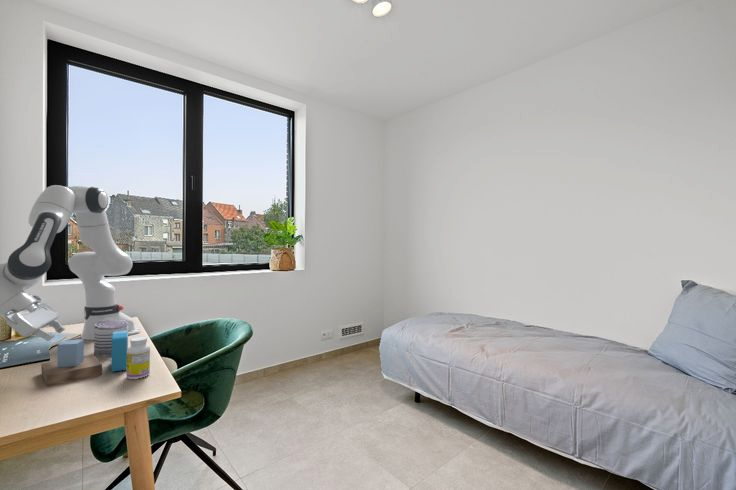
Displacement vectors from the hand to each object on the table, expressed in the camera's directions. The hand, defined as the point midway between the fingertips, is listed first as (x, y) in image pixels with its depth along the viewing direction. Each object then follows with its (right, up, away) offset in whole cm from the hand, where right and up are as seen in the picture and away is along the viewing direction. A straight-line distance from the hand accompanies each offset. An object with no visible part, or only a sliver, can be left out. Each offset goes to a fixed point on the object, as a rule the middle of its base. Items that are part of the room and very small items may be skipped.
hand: (57, 335), depth 118 cm
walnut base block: (+3, -14, +2) cm, 15 cm away
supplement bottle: (+26, -15, +2) cm, 30 cm away
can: (0, -13, +25) cm, 28 cm away
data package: (+14, -14, +10) cm, 22 cm away
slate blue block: (+3, -10, +2) cm, 11 cm away
